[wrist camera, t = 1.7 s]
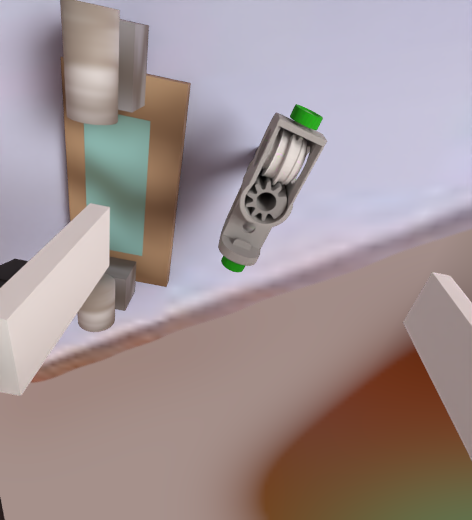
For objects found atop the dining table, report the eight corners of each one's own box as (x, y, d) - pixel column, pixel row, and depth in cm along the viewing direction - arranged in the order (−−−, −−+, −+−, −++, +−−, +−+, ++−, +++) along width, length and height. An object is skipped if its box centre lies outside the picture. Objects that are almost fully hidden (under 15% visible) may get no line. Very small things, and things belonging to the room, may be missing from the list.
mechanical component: (223, 202, 31) (209, 264, 23) (277, 81, 26) (284, 101, 17) (255, 216, 32) (252, 281, 23) (313, 99, 26) (338, 127, 18)
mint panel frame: (64, -3, 24) (-2, -17, 18) (196, 27, 25) (176, 23, 19) (78, 276, 36) (41, 322, 30) (167, 292, 36) (148, 342, 31)
